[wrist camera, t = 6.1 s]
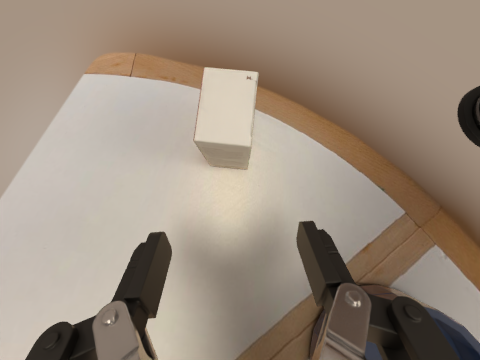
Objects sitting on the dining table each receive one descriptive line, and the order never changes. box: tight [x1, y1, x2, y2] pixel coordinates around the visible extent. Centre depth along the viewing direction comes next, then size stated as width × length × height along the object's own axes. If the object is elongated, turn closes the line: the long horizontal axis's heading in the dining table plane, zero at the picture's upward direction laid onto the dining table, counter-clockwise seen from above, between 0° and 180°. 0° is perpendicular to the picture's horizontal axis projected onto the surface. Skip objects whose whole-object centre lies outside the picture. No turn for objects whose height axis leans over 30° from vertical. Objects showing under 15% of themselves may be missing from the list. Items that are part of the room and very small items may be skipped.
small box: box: [194, 67, 259, 169], centre depth 24 cm, size 8×6×10 cm
